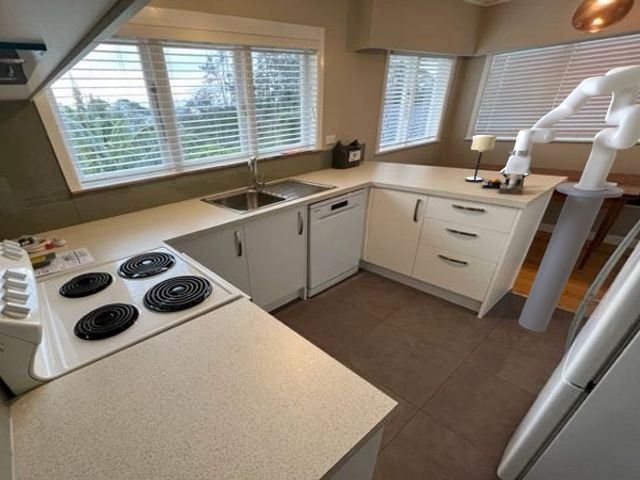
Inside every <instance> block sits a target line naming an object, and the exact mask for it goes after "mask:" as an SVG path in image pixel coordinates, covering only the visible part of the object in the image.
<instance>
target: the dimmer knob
mask: <svg viewBox="0 0 640 480" xmlns="http://www.w3.org/2000/svg"><path fill="white" fill-rule="evenodd" d="M517 181H518V178H515V176H513V177H509V182H508V185H507V187H508V188H515V187H516V184H517Z"/></svg>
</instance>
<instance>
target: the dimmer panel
mask: <svg viewBox="0 0 640 480" xmlns="http://www.w3.org/2000/svg"><path fill="white" fill-rule="evenodd" d="M522 192H523V188H522V186H518V187H517V186H516V187H515V188H508V187H507V186H506V184H505V185H500V189H498V194H500V195H501V194H502V195H514V196H515V195H517V196H521V195H522Z"/></svg>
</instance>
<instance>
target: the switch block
mask: <svg viewBox="0 0 640 480" xmlns="http://www.w3.org/2000/svg"><path fill="white" fill-rule="evenodd" d="M482 183H483V184H482V189H490V190H491V189H492V190H499V189H500V185H506V184H505V182H502V180H500V179H499V181H498V182H493V181H492V179H489V180H488V181H483V182H482Z"/></svg>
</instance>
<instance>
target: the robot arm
mask: <svg viewBox="0 0 640 480" xmlns="http://www.w3.org/2000/svg"><path fill="white" fill-rule="evenodd" d="M611 93H612V97H611V101H610V104H609V107H608V110H607V112H606V115H605V120H604V122H605V124H608V125H610V126H618V127H607V128H604V129H602V130H600V131H598V132H597V133H596V135H595V136H594V138H593V142H592V148H591V151H590V155H589V157H588V159H587V162H586V164H585V167H584V169H583V171H582V174H581V177H580V180H579V181H578V183H579V184H575V185H574V188H576V189H581V190H589V191H602V190H606V187H607V186H611V187H618V186H617V185H618V182H610V181H607V177H608V176H609V173H610V171H611V168H612V166H613V164H614V161H615V159H616V158H617V154H618V153H617V152H618V150H627V149H630V148H632V147H633V146H634V145H636V144H637V143H638V142H639V140H640V104H637V101H638V99H639V95H640V64H636V65H629V66H628V65H627V66H620V67H616V68H613V69H610V70H609V71H607V72H606V73H605V74H604V75H598V76H591V77H587V78H585V79H584V80H582V81H581V82H580V83H579V84H578V85H577V86H576V87H575V88H574V89H573V90H572V92H571V93H570V94H568V95H567V97H566V98H565V99H564V100H563V101H562V102H561V103H560V104H559V105H558V106H557V107H555V108H554V109H552V110H551V111H549V112H548V113H546V114H545V115H544V116H543V117H541V118H540V119H539V120H538V121H537V122H536V123H535V124H534V125H533V126H532V127H531V129H528V128H527V129H521V130H519V131H518V133H517V136H516V137H517V138H516V141H515V145H514V147H513V150H510V151H509V155H510V156H509V158H508V160H507V163H506V166H505V167H504V168H503V169H502V170H500V172H499V174H500V175H502V176H503V177H504V178H505V180H504V183H505V185H506V186H507V185H508V182H509V178H510V176H511V175H516V174H518V175H519V179H518V181H517V184H516V186H517V187H518V185H520V182H521V180H522V179H523V178H524V179H525V178H526V177H529V176H531V175H532V172H531V170H530V165H531V161H532V156H531V153H532V148H533V146H534V144H542V145H543V144H544V145H545V144H549V143H551V142H553V141H554V140H555V139H556V137H557V131H556V130H555V129H552V128H551V127H553V126H554V125H555V124H557V123H558V122H560V121H562V120H565V119H568V118H571V117H572V116H575V115H576V114H577V113H579V111H581V110H582V109H583V107H584V106H585V105H586V104H587V103H588V102H589V101H590V100H591V99H592V98H593V97H597V96H605V95H608V94H611ZM524 174H525V175H524Z"/></svg>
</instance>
